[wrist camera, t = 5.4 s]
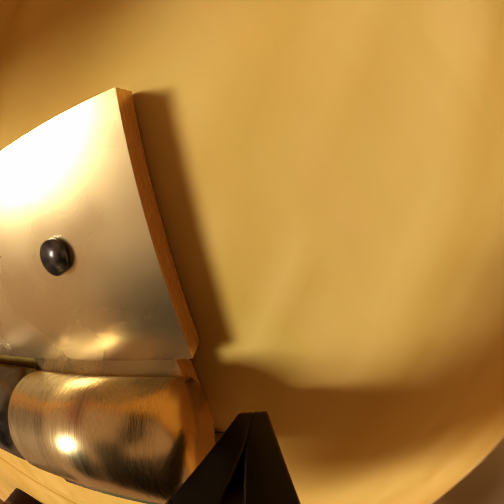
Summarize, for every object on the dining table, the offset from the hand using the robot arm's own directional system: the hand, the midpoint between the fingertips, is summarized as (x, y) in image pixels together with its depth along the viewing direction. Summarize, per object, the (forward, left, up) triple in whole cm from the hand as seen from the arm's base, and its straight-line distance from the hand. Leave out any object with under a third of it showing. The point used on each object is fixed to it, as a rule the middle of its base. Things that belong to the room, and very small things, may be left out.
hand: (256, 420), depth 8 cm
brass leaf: (+8, -4, -1) cm, 9 cm away
